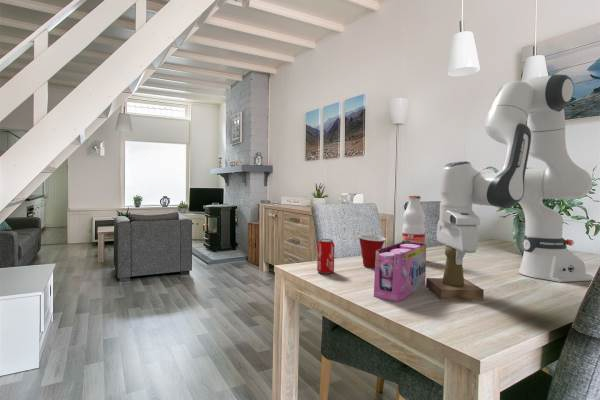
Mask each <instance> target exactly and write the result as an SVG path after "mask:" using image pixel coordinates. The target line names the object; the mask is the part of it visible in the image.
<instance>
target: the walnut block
mask: <svg viewBox="0 0 600 400" xmlns="http://www.w3.org/2000/svg"><path fill="white" fill-rule="evenodd" d="M425 288H426V289H427V288H428V289H427V290H428V291H430V292H431V293H432V294H433V295H435V297H437V298H438V299H439V300H441V301H484V289H482V287H480V286H478V285H476V284H474V283H473V282H471V281H469V280H468V279H466V278H464V285H462V286H453V285H448V284H445V283H443V277H426V278H425Z"/></svg>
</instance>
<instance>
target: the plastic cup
mask: <svg viewBox="0 0 600 400" xmlns="http://www.w3.org/2000/svg"><path fill="white" fill-rule="evenodd" d="M357 237H358V240H359V244H360V252H361V259H362V264H363V267H366V268H370V267H373V269H375V259H376V250H379V249H382V248H383V246H384V244H385V241H386V239H387V238H385V237H383V236H378V235H373V234H359V235H358V236H357Z"/></svg>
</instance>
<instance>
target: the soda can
mask: <svg viewBox="0 0 600 400" xmlns="http://www.w3.org/2000/svg"><path fill="white" fill-rule="evenodd" d="M316 250H317V254H316V255H317V257H316V258H317V259H316V261H317V262H316V272H319V273H320V274H323V275H330V274H332V273H333V272H335V243H334V240H333V239H329V238H322V239H319V240H318V243H317V249H316Z"/></svg>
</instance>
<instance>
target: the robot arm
mask: <svg viewBox="0 0 600 400" xmlns="http://www.w3.org/2000/svg"><path fill="white" fill-rule="evenodd" d="M574 90H575V89H574V82H573V80H572V79H571V77H570V76H568V75H567V74H558V73H557V74H552V75H545V76H544V75H543V76H536V77H535V76H534V77H531V78H527V79H524V80H512V81H509V82H507V83H505V84H504V85H503V86H501V87H500V88H499V90H498V91H497V93H496V95H495V97H494V100H493V101H492V103H491V106H490V108H489V110H488V113H487V115H486V117H485V121H484V129H485V130H484V131H485V132H486V134H487V135H488V136H489V137H490V138H491V139H492V140H494V141H496V142H498V143H500V144H502V145H503V144H504V145H506V146H507V149H506V153H505V158H504V164H503V167H502V169H501V170H499V171H498V172H492V173H491V172H490V173H488V172H486V173H485V172H484V173H483V172H481V171H478V170H477V169H475V168H474V167H473V166H472V164H471V162H470V161H455V162H450V163H447V164H446V165H443V168H442V170H441V174H440V175H441V176H440V186H439V188H440V189H439V190H440V191H439V192H440V196H441V197H440V198H441V199H440V204H439V220H438V221H437V227H436V241H437V242H438V243H441V244H443V245H444V250H445V249H446V248H447V247H449V246H450V247H452V248H454V249H456V258H454V263H455V264H457V265H462V266H463V259H464V257H465V254H475V253H476V252H477V250H478V247H479V246H478V245H479V227H478V226H480V225H481V218H480V217H479V216H478V215H477V214H476V213H475V212H474V210H473V205H479V206H489V207H496V208H501V209H511V208H513V207H515V206H517V204H519V205H520V207H521V209H522V212H523V214H524V225H525V227H524V229H525V230H524V232H525V233H524V235H523V240H522V241H523V243H522V244H523V245H522V246H523V254H522V260H521V264H520V267H519V269H518V273H519V274H521V275H524V276H526V277H531V278H535V279H540V280H547V281H552V282H558V283H563V282H564V283H566V282H588V281H593V280H592V279H593V277H594V276H592V274H588V273H587V268H586V265H585V261H584V260H583V259H582V258H580V257H578V256H577V255H576V254H574V253H573V252H572V251H571V250H569V249H568V247H567V246H573V245H574V244H575V241H573V240H572V239H567V238H566V239H565V238H563V226H564V225H563V224H564V219H563V216H562V214H561V213H560V212H558V211H556V210H554V209H552V208H550V207H548V206H547V205H545V204H544V202H543V200H546V199H548V200H549V199H550V200H551V199H553V200H573V199H579V198H580V199H581V198H583V197H586V195H588V194H589V193H590V191H591V189H592V186H593V179H592V176H591V175H590V174H589V173H588V171H586V169H583V168H582V167H580V166H579V165H577V164H576V163H575V162H574V161H573V160H572V158H571V157H570V155H569V153H568V150H567V144H566V116H565V109H564V108H565V107H567V105H568V104H569V103H570V102H571V101H572V99H573V96H574ZM529 156H530V157H532V158H534V159H537V160H540V161H542V162H544V163H545V164H546V167H544V168H542V167H541V168H527V166H528V160H529Z"/></svg>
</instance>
